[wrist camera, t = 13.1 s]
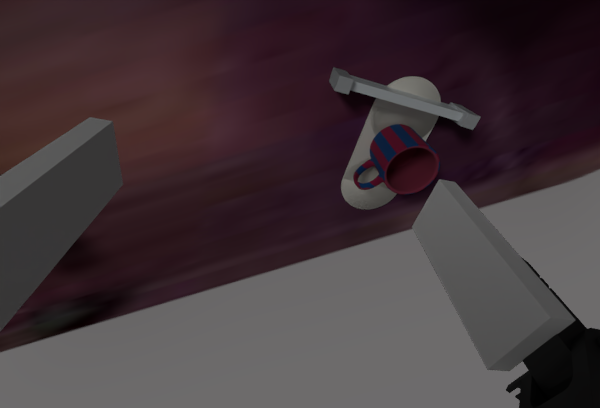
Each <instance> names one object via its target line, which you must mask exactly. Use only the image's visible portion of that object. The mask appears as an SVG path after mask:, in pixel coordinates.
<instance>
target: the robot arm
mask: <svg viewBox="0 0 600 408" xmlns="http://www.w3.org/2000/svg"><path fill="white" fill-rule="evenodd" d="M122 185H123V182H122V176H121V170H120V163H119V157H118V151H117V145H116V139H115V132H114V126H113V121H108V120H102V119H96V118H91V117H90V118H88V119H87V120H85V121H84V122H82V123H80V124H79V125H77V126H76V127H74V128H73V129H71V130H70V131H68V132H67V133H65V134H64V135H62V136H61V137H59V138H58V139H56V140H55V141H53V142H51V143H50V144H48V145H47V146H45V147H44V148H42V149H41V150H39V151H38V152H36V153H35V154H33V155H32V156H30V157H29V158H27V159H26V160H24V161H22V162H21V163H19V164H18V165H16V166H15V167H13V168H12V169H10V170H9V171H7V172H6V173H4V174H3V175H1V176H0V331H1V330H2V329H3V328H4V327H5V325H6V324H7V323H8V322H9V321H10V319H11V318H12V317H13V316H14V315H15V313H16V312H17V311H18V310H19V309H20V307H21V306H22V305H23V304H24V303H25V301H26V300H27V299H28V298H29V297H30V295H31V294H32V293H33V292H34V291H35V289H36V288H37V287H38V286H39V285H40V283H41V282H42V281H43V280H44V279H45V277H46V276H47V275H48V274H49V273H50V271H51V270H52V269H53V268H54V267H55V265H56V264H57V263H58V262H59V261H60V259H61V258H62V257H63V256H64V255H65V253H66V252H67V251H68V250H69V249H70V247H71V246H72V245H73V244H74V243H75V241H76V240H77V239H78V238H79V237H80V235H81V234H82V233H83V232H84V231H85V229H86V228H87V227H88V226H89V225H90V223H91V222H92V221H93V220H94V219H95V217H96V216H97V215H98V214H99V213H100V211H101V210H102V209H103V208H104V207H105V205H106V204H107V203H108V202H109V201H110V199H111V198H112V197H113V196H114V195H115V193H116V192H117V191H118V190H119V189H120V187H121V186H122ZM412 228H413V230H414V232H415V234H416V236H417V238H418V239H419V241H420V243H421V245H422V247H423V249H424V251H425V253H426V255H427V256H428V258H429V260H430V262H431V264H432V266H433V268H434V270H435V271H436V273H437V275H438V277H439V279H440V281H441V283H442V285H443V287H444V289H445V290H446V292H447V294H448V296H449V298H450V300H451V302H452V304H453V305H454V307H455V309H456V311H457V313H458V315H459V317H460V319H461V320H462V322H463V324H464V326H465V328H466V330H467V332H468V334H469V336H470V337H471V340H472V341H473V343H474V345H475V347H476V349H477V351H478V353H479V355H480V357H481V358H482V360H483V362H484V364H485V366H486V368H487V370H500V371H510V370H511V369H513V368H514V367H515V366H517V365H518V364H519V363H521V362H522V361H523V362H524V364H525V365H526V367H527V368H528V370H529V371H527V372H526V373H525V374H524V375H522V376H521V377H519V378H518V379H516V380H515V381H514V382H512V383H511V384H509V385H508V387H507V389H506V391H508V392H509V393H510V392H512V391H513V390H515V389H516V388H520V389H521V392H520V393H519V394H518V395H516V396H515V397H516V398H517V399H519V400H520V405H519V408H600V330H598V329H593V328H589V329H587V328H586V327H585V326H584V325H583V324H582V323H581V322H580V320H579V319H578V318H577V317H576V316H575V315H574V314H573V313H572V312H571V310H570V309H569V308H568V307H567V306H566V305H565V304H564V302H563V301H562V300H561V299H560V298H559V297H558V296H557V295H556V293H555V292H554V291H553V290H552V289H551V288H549V286H548V284H547V283H546V282H545V281H544V280H543V279H542V278H540V275H539V274H538V273H537V272H536V271H535V270H534V269H533V267H532V266H531V265H530V264H529V263H528V262H527V261H525V260H524V259H523V258H521V257H520V256H519V255H518V253H517V252H516V251H515V250H514V249H513V248H512V247H511V246H510V244H509V243H508V242H507V241H506V240H505V239H504V237H503V236H502V235H501V234H500V233H499V232H498V231H497V229H495V227H494V226H493V225H492V224H491V223H490V221H489V220H488V219H487V218H486V217H485V216H484V215H483V213H482V212H481V211H480V210H479V209H478V208H477V207H476V205H475V204H474V203H473V202H472V201H471V200H470V199H469V197H468V196H467V195H466V194H465V193H464V192H463V191H462V189H461V188H460V187H459V186H458V185H457V184H456V183H455V182H452V181H446V180H441V179H439V180H438V182H437V184H436V186H435V187H434V189H433V191H432V193H431V194H430V196H429V198H428V200H427V202H426V203H425V205H424V207H423V209H422V210H421V212H420V214H419V216H418V217H417V219H416V221H415V223H414V224H413V226H412Z"/></svg>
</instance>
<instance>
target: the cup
mask: <svg viewBox="0 0 600 408" xmlns="http://www.w3.org/2000/svg"><path fill="white" fill-rule="evenodd" d="M370 157H371V159H370V160H368V161H367V162H365V163H364V164H362V165H361V166H360V167H359V168H358V169H357V170H356V171H355V173H354V175H353V180H354V183H355V185H356V186H357V187H358V188H359V189H361V190H368V189H372V188H374V187H376V186H377V185H379V184H381V183H382V182H383V183H385V185H386V186H387V187H388V189H390V190H391V191H392V192H394V193H397V194H403V195H406V194H413V193H416V192H419V191H421V190H423V189H424V188H426V187H427V186H428V185H429V184H431V182H432V181H433V180H434V179H435V177H436V176H437V174H438V171H439V168H440V160H439V156H438V154H437V153H436V151H435V150H434V149H432V148H431V147H430V146H429V145H428V144H427V143H426V142H425V141H424V140H423V139H422V138H421V137H420V136H419V135H418V134H417V133H416V132H415V131H414V130H413V129H412V128H411V127H409V126H407V125H403V124H395V125H391V126H388V127H386V128H384V129H382V130H381V131H380V132H379V133H378V134H377V135H376V136H375V137H374V139H373V141H372V143H371V146H370ZM372 166H375V167H376V169H377V171H378V173H379V175H378V176H377V177H376V178H375V179H374V180H372V181H370V182H368V183H360V182H358V178H359V176H360V175H361V174H362V173H363V172H364V171H365V170H367V169H368V168H370V167H372Z"/></svg>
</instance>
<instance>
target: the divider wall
mask: <svg viewBox="0 0 600 408" xmlns="http://www.w3.org/2000/svg"><path fill="white" fill-rule="evenodd" d="M329 82H330V84H331V85H332V87H333V89H334V91H337V92H341V93H344V94H349V92H350V90H351V91H355V92H358V93H362V94H365V95H369V96H372V97H376V98H379V99H383V100H386V101H389V102H393V103H396V104H400V105H403V106H407V107H410V108H414V109H417V110H421V111H424V112H428V113H431V114H435V115H438V116H442V117H445V118H449V119H451V120H453V121H454V122H456V123H457V124H458V125H460V126H461V127H465V128H468V129H472V130H473V129H474V127H475V126H476V124H477V123H478V121H479V119H480V118H481V117H480V116H478V115H477V114H475V113H473V112H472V111H470V110H468V109H467V108H465V107H463V106H461V105H458V104H455V103H450V105H449V104H446V103H442V102H438V101H434V100H431V99H428V98H424V97H421V96H418V95H414V94H411V93H408V92H404V91H401V90H397V89H394V88H391V87H387V86H385V85H382V84H379V83H375V82H372V81H368V80H365V79H362V78H358V77H355V76H352V75H349V74H348V72H347V71H345V70H341V69H338V68H335V67H333V70H332V73H331V77H330V80H329Z"/></svg>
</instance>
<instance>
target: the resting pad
mask: <svg viewBox="0 0 600 408" xmlns="http://www.w3.org/2000/svg"><path fill="white" fill-rule="evenodd" d="M387 87H391V88H394V89H397V90H401V91H404V92H408V93H411V94H414V95H418V96H421V97H424V98H428V99H431V100H434V101H438V102H441V99H440V95H439V92H438V90H437V88H436V87H435V86H434V85H433V84H432V83H431V82H430V81H428V80H426V79H424V78H422V77H417V76H408V77H403V78H400V79H397V80H395V81H393V82H392V83H390V84H389V85H387ZM438 117H439V116H438V115H435V114H431V113H428V112H424V111H421V110H417V109H414V108H410V107H407V106H403V105H400V104H396V103H393V102H389V101H386V100H383V99H379V98H376V99H375V101H374V103H373V105H372V108H371V110H370V113H369V115H368V118H367V120H366V122H365V125H364V127H363V130H362V132H361V135H360V137H359V140H358V142H357V144H356V147H355V149H354V152H353V154H352V157H351V159H350V162H349V164H348V166H347V169H346V171H345V174H344V176H343V179H342V182H341V191H342V195H343V197H344V199H345V200H346V201H347V202H348V203H349V204H350V205H351V206H353V207H356V208H359V209H375V208H378V207H381V206H383V205H385V204H386V203H388V202H389V201H391V200H392V199H393V198H394V197H395V195H396V194H397V193H394V192H392V191H391V190H390V189H388V187H387V186H386V185H385V183H383V182H382V183H381V184H379V185H377V186H376V187H374V188H372V189H368V190H361V189H359V188H358V187H357V186H356V185H355V183H354V180H353V175H354V173H355V171H356V170H357V169H358V168H359V167H360V166H361V165H362V164H364V163H365V162H367V161H368V160H370V159H371V157H370V146H371V143H372V141H373V139H374V137H375V136H376V135H377V134H378V133H379V132H380V131H381V130H382V129H384V128H386V127H388V126H391V125H395V124H403V125H407V126H409V127H411V128H412V129H413V130H414V131H415V132H416V133H417V134H418V135H419V136H420V137H421V138H422V139H423V140H424V141H425V142H426V140H427V138H428V136H429V134H430V132H431V131H432V129H433V127H434V125H435V123H436V121H437V119H438ZM378 175H379V173H378V171H377V169H376V167H375V166H372V167H370V168H368V169H367V170H365V171H364V172H363V173H362V174H361V175H360V176H359V178H358V182H360V183H368V182H370V181H372V180H374V179H375V178H376V177H377V176H378Z"/></svg>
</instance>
